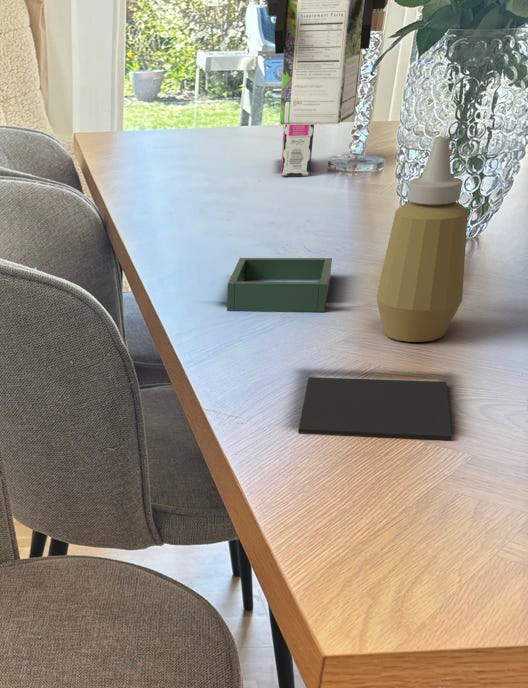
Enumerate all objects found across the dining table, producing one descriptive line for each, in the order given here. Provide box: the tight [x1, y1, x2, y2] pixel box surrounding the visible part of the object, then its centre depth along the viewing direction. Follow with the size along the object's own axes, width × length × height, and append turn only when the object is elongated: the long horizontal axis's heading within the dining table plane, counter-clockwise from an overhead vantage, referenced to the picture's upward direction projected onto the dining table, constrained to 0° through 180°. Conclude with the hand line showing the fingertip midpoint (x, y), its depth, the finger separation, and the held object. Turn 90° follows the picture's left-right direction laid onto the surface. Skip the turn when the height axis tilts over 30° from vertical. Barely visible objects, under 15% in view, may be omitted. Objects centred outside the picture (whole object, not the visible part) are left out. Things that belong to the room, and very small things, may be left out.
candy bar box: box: [280, 125, 315, 177], centre depth 167 cm, size 11×5×16 cm, turn 169°
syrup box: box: [279, 0, 365, 126], centre depth 90 cm, size 6×6×14 cm
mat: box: [297, 376, 453, 441], centre depth 85 cm, size 12×12×1 cm
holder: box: [226, 257, 333, 313], centre depth 112 cm, size 11×11×3 cm
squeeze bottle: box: [376, 136, 469, 343], centre depth 95 cm, size 8×8×18 cm
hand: (321, 39), depth 87 cm, fingers closed on syrup box, 7 cm apart
